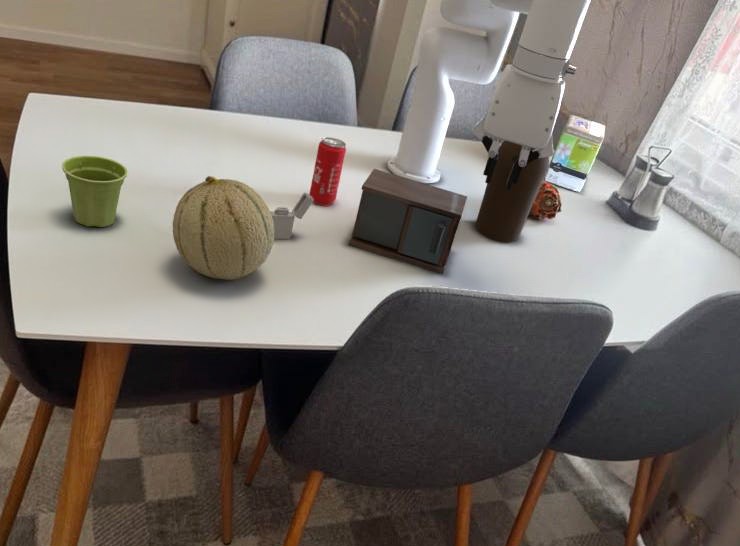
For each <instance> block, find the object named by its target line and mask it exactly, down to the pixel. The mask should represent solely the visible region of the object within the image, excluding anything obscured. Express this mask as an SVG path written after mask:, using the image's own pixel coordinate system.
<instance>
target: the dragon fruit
mask: <svg viewBox="0 0 740 546" xmlns="http://www.w3.org/2000/svg"><path fill="white" fill-rule="evenodd" d="M562 202H563V201H562V197H561V195H560V192H559V190H558V188H557V185H556V184H553V183H550V182H548V181H545V179H544V180H543V182H542V184H541V187H540V189H539V191H538V193H537V196H536V198H535V200H534V203H533V205H532V207H531V210H530V212H529V214H528V215H533V217H534V218H535V219H538V220H541V221H542V220H544V219H549V220H552V219H555V218H556V215H557V214H558V213H561V212H562V205H563V204H562Z"/></svg>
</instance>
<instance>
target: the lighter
mask: <svg viewBox="0 0 740 546" xmlns="http://www.w3.org/2000/svg"><path fill="white" fill-rule="evenodd" d="M313 201H314V199H313V198H312V196H310V193H309V194H308V193H307V192H304V193H303V194H302V196H301V197H300V199H299V200H298V202H297V203H296V204H295V206H294V207H293V209H292V210H291V211H290V209H289V208H288V207H286V206H283V207H279V206H278V207H277V208H275V210H274V211H273V210H272V211H271V210H269V211H270V213H271V216H272V218H273V222H274V227H275V232H274V240H290V239H291V238H292V234H293V228H294V227H293V226H294V222H295V217H296V218H297V219H299V220H302V219H303V217H304V216H305V214H306V213H307V212H308V210H309V209H310V207H311V205H312V204H313Z"/></svg>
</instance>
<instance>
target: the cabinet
mask: <svg viewBox="0 0 740 546" xmlns="http://www.w3.org/2000/svg"><path fill="white" fill-rule="evenodd" d="M361 190H362V192H361V196H360V200H359V204H358V209H357V212H356V217H355V222H354V226H353V229H352V235H351V237H350V239H349V241H348V246H351V247H354V248H357V249H361V250H363V251H367V252H370V253H373V254H377V255H380V256H383V257H387V258H388V259H389V258H390V259H393V260H396V261H399V262H402V263H406V264H408V265H412V266H414V267H418V268H422V269H425V270H428V271H431V272H435V273H438V274H441V275H444V272H445V270H446V265H447V263H448V259H449V257H450V253H451V251H452V247H453V244H454V241H455V238H456V235H457V231H458V229H459V226H460V223H461V219H462V216H463V213H464V210H465V207H466V203H467V200H468V196H467V195H464V194H461V193H457V192H454V191H450V190H447V189H445V188H441V187H437V186H434V185H431V184H429V183H421V182H418V181H415V180H411V179H408V178H405V177H401V176H398V175H396V174H394V173H392V172H388V171H384V170H382V169H379V168H373V170H372V171H371V172H370V174H369V175H368V176H367V178H366V179H365V181H364V182H363V184H362V186H361ZM410 205H414V206H417V207H420V208H423V209H426V210H430V211H433V212H436V213H440V214H443V215H446V216H449V217H453V218H456V222H455V225H454V228H453V231H452V234H451V237H450V241H449V244H448V247H447V250H446V253H445V256H444V259H443V262H442V266H440V265H437V264H434V263H431V262H427V261H424V260H421V259H418V258H414V257H411V256H408V255H405V254H401V253H398V252H397V250H398V247H399V243H400V240H401V236H402V232H403V229H404V225H405V222H406V218H407V214H408V211H409V207H410Z"/></svg>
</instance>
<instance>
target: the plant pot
mask: <svg viewBox="0 0 740 546" xmlns="http://www.w3.org/2000/svg"><path fill="white" fill-rule="evenodd" d="M61 170H62V171H63V173H64V174H65V178H66V180H67V182H68V188H69V195H70V202H71V208H72V215H73V219H74V220H75V221H76V223H79V224H80V225H82V226H85V227H97V228H105V227H109V226H111V225H113V224H114V223H115V220H116V215H117V210H118V204H119V199H120V194H121V190H122V186H123V184H124V181H125V179H126V178H127V176H128V172H129V171H128V169H127V167H126V166H125V165H123V164H122V163H120V162H119V161H117V160H114V159H112V158H108V157H103V156H95V155H78V156H72V157H69V158H66V159H65V160H64V161H63V162H62V164H61Z"/></svg>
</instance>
